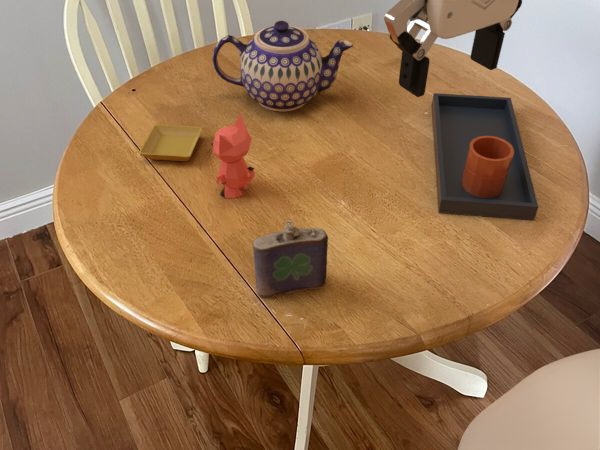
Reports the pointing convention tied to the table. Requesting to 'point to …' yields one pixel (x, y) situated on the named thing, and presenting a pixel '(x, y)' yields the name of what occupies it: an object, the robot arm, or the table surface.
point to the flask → (290, 260)
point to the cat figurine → (233, 158)
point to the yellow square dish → (171, 142)
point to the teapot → (283, 66)
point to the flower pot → (487, 166)
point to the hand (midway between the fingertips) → (448, 77)
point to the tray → (454, 148)
